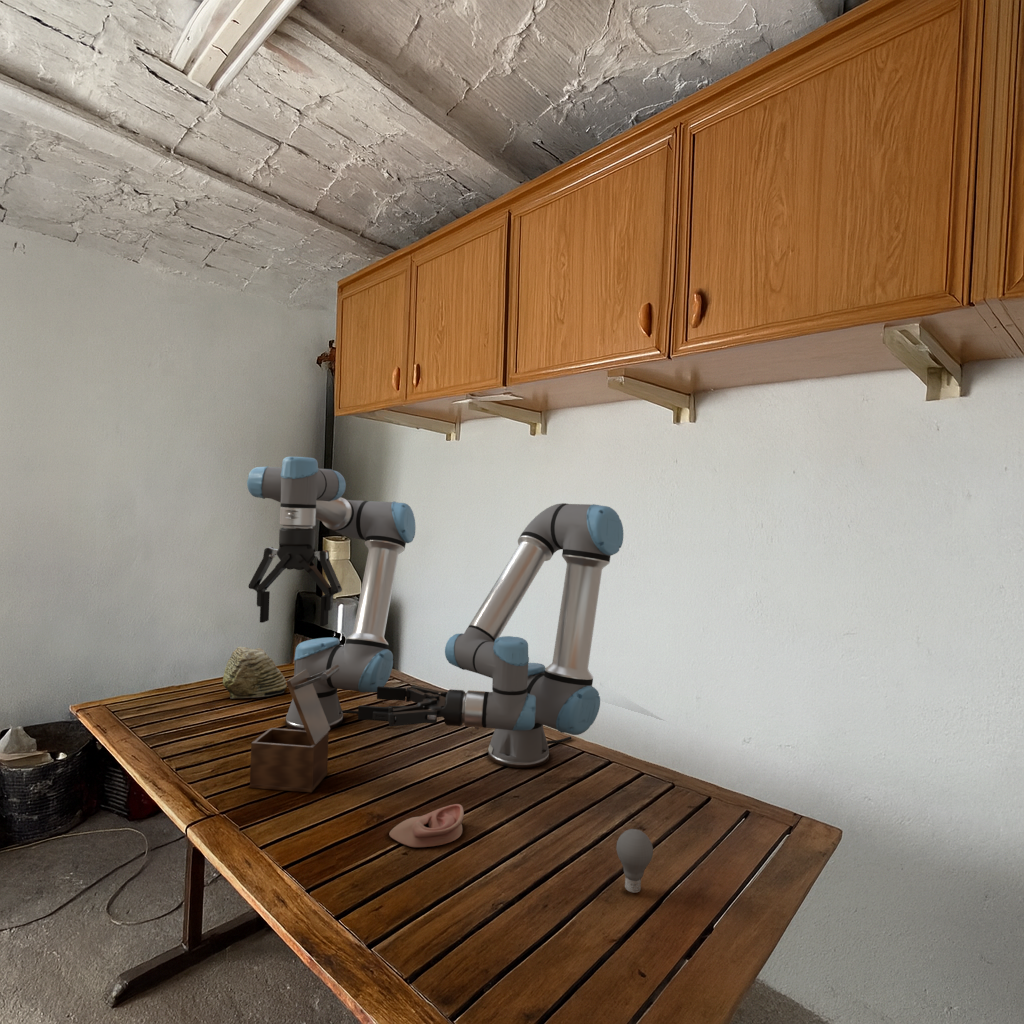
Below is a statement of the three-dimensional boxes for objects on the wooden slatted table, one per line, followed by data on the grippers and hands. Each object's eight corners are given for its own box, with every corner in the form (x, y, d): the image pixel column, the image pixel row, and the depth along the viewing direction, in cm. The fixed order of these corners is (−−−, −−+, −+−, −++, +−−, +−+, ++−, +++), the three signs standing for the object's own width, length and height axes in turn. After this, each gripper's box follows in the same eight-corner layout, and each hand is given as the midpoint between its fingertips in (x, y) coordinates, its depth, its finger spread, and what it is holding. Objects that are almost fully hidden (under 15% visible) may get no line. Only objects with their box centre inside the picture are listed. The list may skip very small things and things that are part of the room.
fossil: (218, 695, 195) (220, 647, 195) (278, 685, 208) (279, 640, 207) (228, 703, 189) (230, 653, 188) (289, 692, 201) (290, 645, 201)
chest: (249, 787, 136) (251, 742, 136) (269, 769, 146) (270, 727, 145) (311, 792, 135) (313, 747, 135) (327, 774, 144) (328, 732, 144)
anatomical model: (383, 821, 117) (406, 793, 128) (382, 842, 117) (405, 813, 128) (452, 832, 114) (469, 802, 125) (451, 853, 114) (468, 822, 125)
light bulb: (610, 879, 108) (613, 822, 108) (644, 879, 109) (647, 822, 109) (619, 902, 102) (622, 840, 102) (655, 901, 103) (658, 840, 103)
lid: (285, 681, 135) (321, 667, 135) (303, 670, 145) (337, 657, 144) (311, 745, 135) (347, 731, 135) (327, 730, 144) (361, 717, 144)
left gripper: (234, 525, 137) (230, 623, 137) (347, 530, 135) (343, 629, 135) (251, 524, 144) (247, 616, 144) (358, 529, 142) (354, 623, 143)
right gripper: (454, 747, 125) (349, 740, 126) (471, 706, 150) (383, 700, 151) (455, 710, 125) (350, 703, 126) (472, 675, 150) (384, 669, 151)
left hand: (294, 623), depth 140 cm, fingers open, 13 cm apart
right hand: (368, 701), depth 139 cm, fingers open, 13 cm apart
